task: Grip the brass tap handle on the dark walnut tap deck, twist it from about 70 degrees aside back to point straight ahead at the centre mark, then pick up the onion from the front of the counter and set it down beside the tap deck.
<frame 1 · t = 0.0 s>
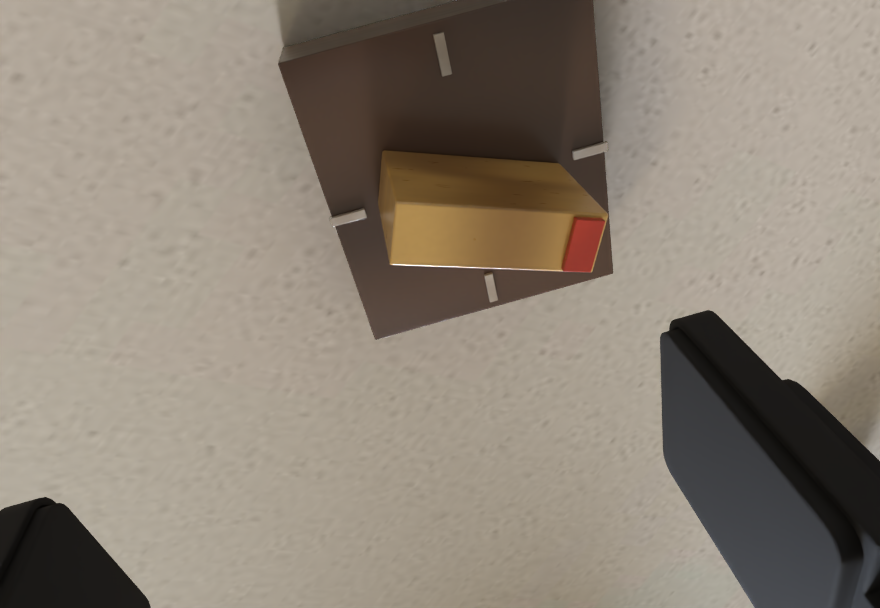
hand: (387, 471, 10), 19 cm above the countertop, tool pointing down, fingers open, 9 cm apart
tap deck: (455, 158, 27), on the countertop
tap handle: (484, 210, 22), point 6 cm above the countertop, hinge at 70.0°
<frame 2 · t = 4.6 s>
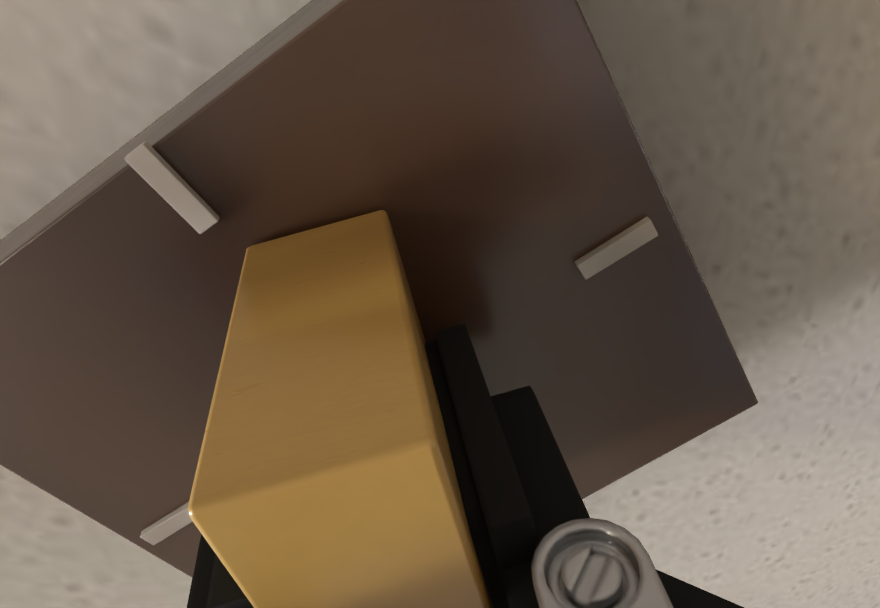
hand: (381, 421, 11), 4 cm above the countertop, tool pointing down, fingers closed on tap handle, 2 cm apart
tap deck: (367, 306, 14), on the countertop
tap handle: (391, 510, 9), point 6 cm above the countertop, hinge at 70.0°, touching gripper
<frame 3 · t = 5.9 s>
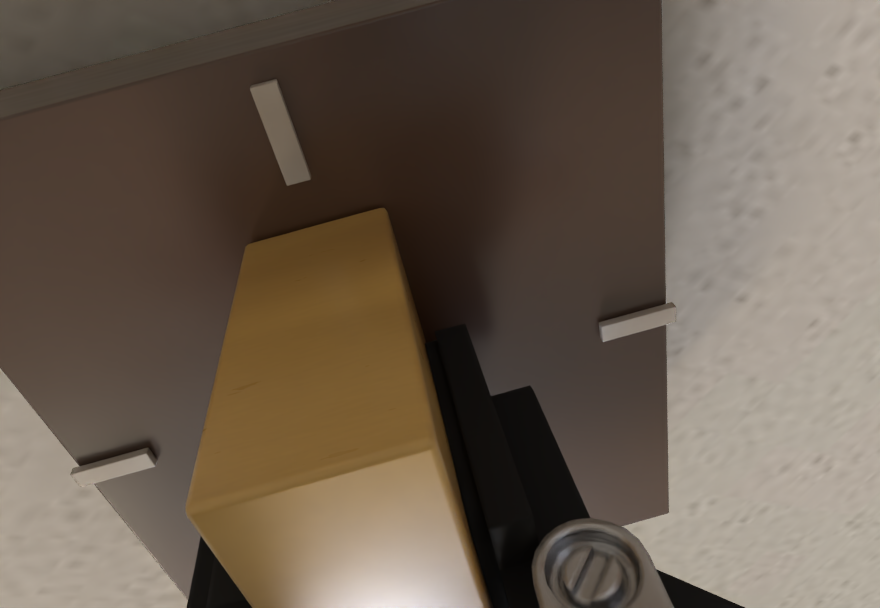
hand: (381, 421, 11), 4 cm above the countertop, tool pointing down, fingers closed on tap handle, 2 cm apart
tap deck: (367, 304, 14), on the countertop
tap handle: (391, 509, 9), point 6 cm above the countertop, hinge at 0.1°, touching gripper
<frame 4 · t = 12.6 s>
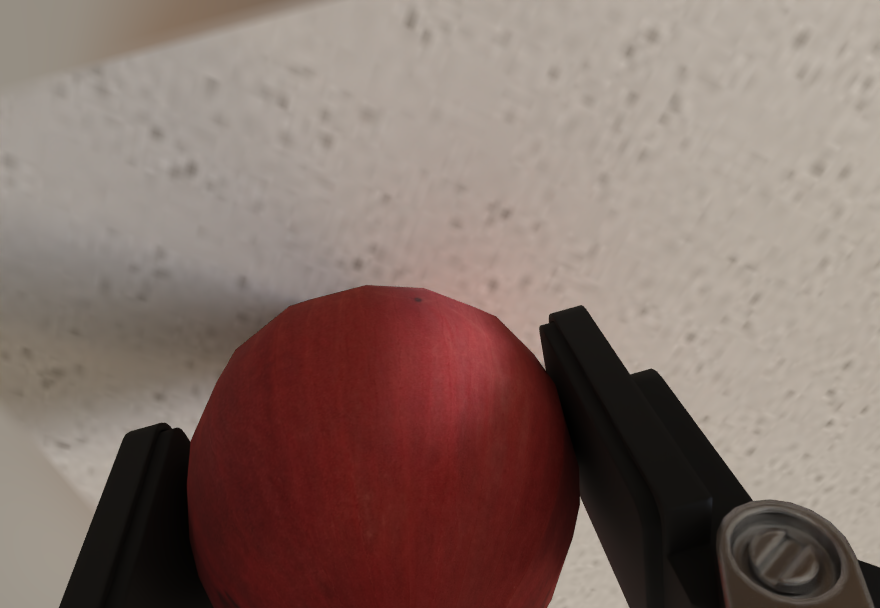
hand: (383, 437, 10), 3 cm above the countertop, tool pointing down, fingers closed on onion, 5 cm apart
onion: (369, 330, 13), on the countertop, touching gripper
when the fingers open (4 cm above the countertop, at t = 20.9 s): onion moves 5 cm, point 5 cm above the countertop.
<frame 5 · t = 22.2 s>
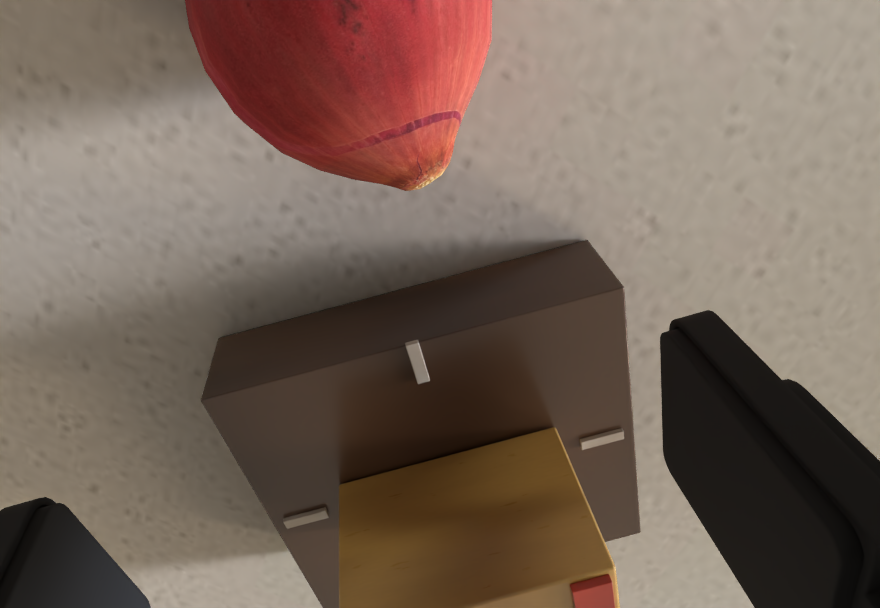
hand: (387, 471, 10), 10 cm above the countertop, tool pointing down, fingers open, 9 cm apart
onion: (429, 195, 13), point 5 cm above the countertop
tap deck: (440, 413, 22), on the countertop
tap handle: (468, 547, 18), point 6 cm above the countertop, hinge at 0.1°
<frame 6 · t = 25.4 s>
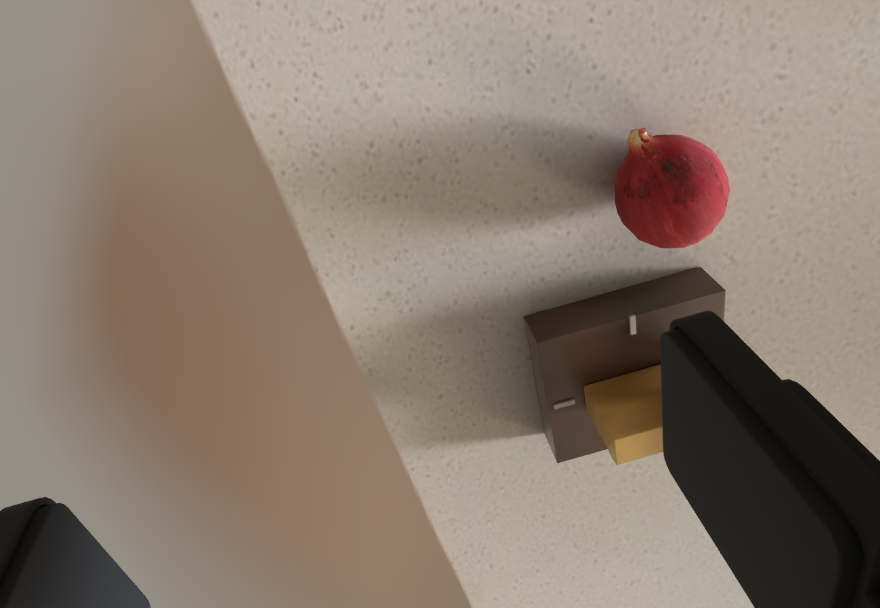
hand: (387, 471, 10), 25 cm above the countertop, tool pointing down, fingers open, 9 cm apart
onion: (699, 240, 36), point 3 cm above the countertop
tap deck: (617, 355, 43), on the countertop
tap handle: (653, 410, 38), point 6 cm above the countertop, hinge at 0.1°
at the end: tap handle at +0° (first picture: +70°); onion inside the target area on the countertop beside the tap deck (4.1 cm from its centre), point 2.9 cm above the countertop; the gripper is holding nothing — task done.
